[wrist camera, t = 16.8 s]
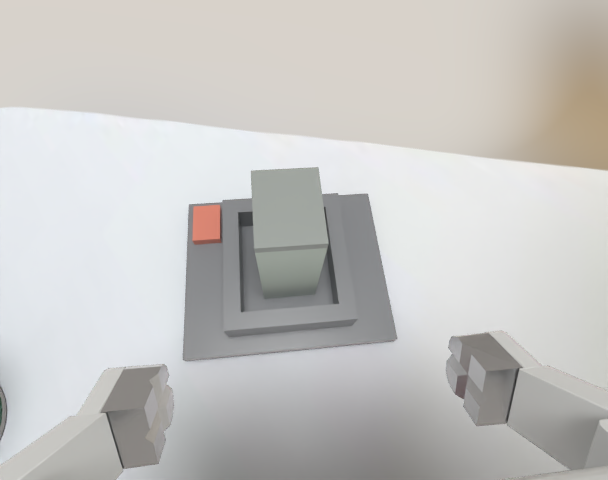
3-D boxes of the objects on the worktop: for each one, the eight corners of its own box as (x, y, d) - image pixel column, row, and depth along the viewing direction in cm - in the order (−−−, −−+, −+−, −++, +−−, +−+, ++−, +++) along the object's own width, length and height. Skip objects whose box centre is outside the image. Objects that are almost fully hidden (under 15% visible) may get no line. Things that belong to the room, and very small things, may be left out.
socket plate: (365, 199, 33) (374, 177, 30) (393, 341, 28) (407, 333, 25) (191, 210, 32) (181, 188, 29) (186, 361, 27) (173, 355, 24)
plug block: (308, 237, 30) (318, 167, 21) (314, 294, 28) (328, 243, 19) (261, 241, 30) (250, 170, 21) (264, 298, 28) (254, 248, 19)
